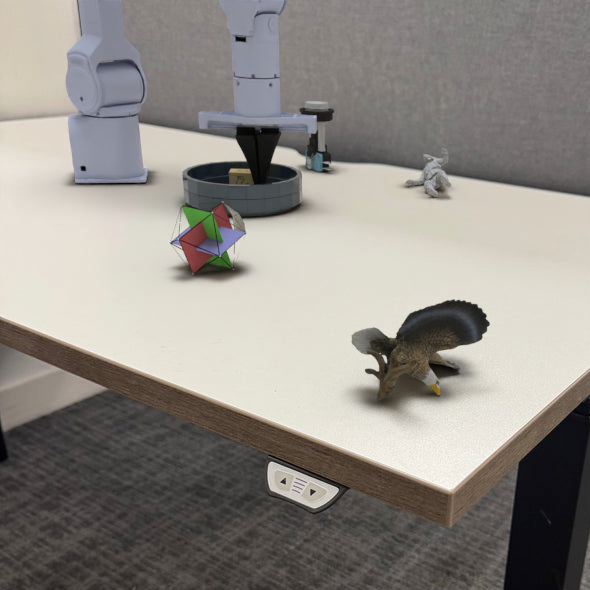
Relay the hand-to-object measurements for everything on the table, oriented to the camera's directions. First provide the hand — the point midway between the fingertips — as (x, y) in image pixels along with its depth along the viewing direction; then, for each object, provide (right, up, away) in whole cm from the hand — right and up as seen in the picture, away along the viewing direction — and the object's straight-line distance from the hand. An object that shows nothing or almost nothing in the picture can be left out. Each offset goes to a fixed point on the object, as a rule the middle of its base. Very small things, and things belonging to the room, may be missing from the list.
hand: (261, 188), depth 103 cm
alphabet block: (-3, 0, +4) cm, 5 cm away
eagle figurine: (+20, -27, -44) cm, 55 cm away
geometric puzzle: (-1, -14, -23) cm, 27 cm away
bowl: (-3, -1, +2) cm, 3 cm away
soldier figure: (+23, +4, +14) cm, 27 cm away
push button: (+5, +9, +23) cm, 25 cm away
